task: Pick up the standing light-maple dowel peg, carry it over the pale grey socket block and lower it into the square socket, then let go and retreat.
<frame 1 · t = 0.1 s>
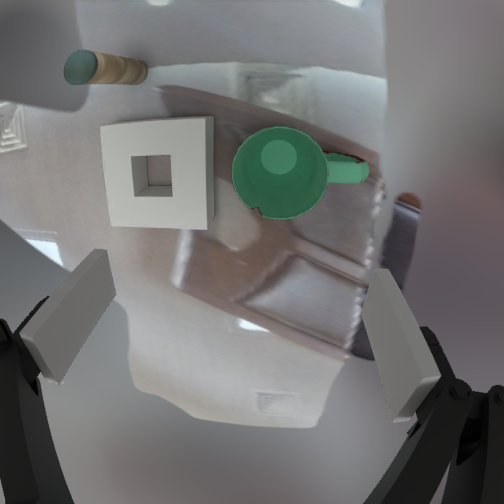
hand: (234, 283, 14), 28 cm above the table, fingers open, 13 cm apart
peg: (135, 72, 33), on the table
mug: (297, 156, 38), on the table
socket block: (164, 167, 40), on the table
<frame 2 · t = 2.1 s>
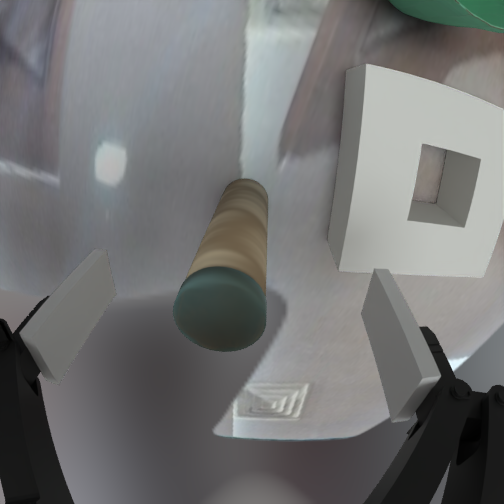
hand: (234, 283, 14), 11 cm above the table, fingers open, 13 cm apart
peg: (245, 200, 24), on the table
socket block: (417, 170, 22), on the table
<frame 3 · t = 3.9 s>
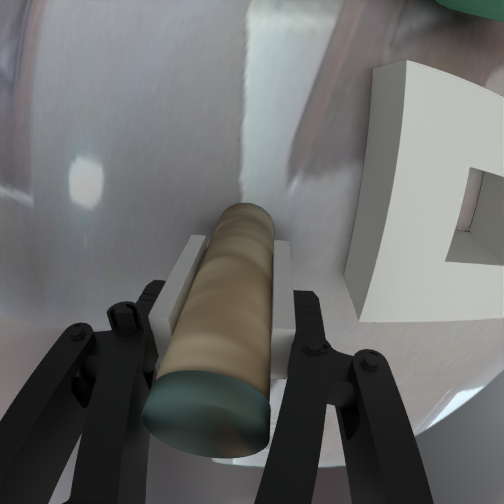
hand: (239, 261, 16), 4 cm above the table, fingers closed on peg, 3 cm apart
peg: (245, 229, 20), on the table, touching gripper
socket block: (451, 193, 17), on the table
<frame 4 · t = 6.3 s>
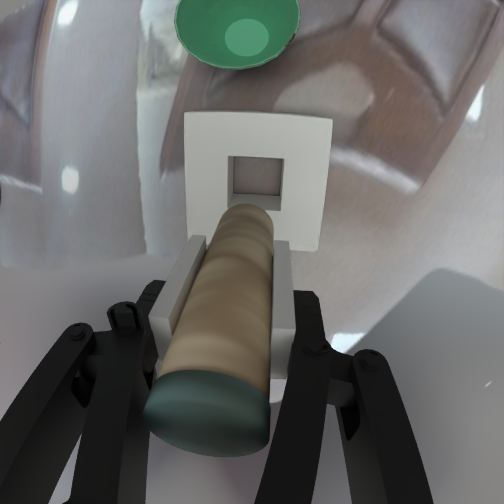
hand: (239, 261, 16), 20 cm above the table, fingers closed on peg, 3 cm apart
peg: (246, 229, 20), point 16 cm above the table, touching gripper
mug: (245, 19, 25), on the table
socket block: (257, 172, 34), on the table
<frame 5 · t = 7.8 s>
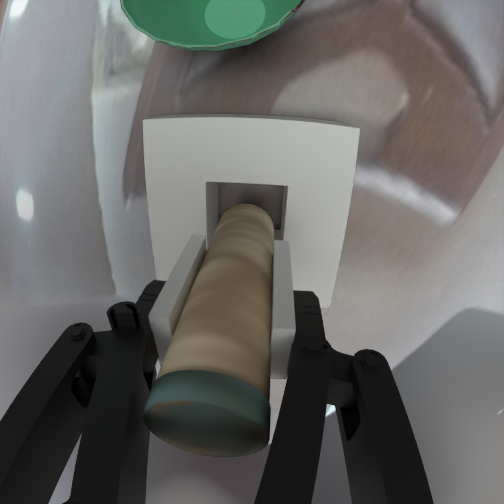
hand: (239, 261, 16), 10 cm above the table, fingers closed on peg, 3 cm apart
peg: (246, 229, 20), point 6 cm above the table, touching gripper
socket block: (250, 198, 25), on the table
when the fingers open (8 cm above the table, at t = 9.0 s): peg drops 3 cm, resting in socket block.
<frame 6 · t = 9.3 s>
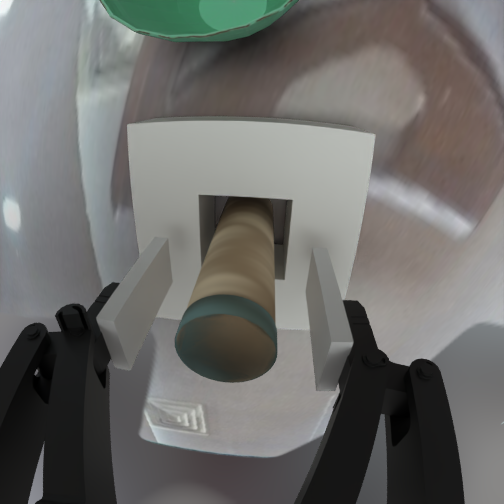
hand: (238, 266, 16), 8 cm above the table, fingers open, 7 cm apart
peg: (248, 211, 23), resting in socket block
socket block: (250, 210, 23), on the table
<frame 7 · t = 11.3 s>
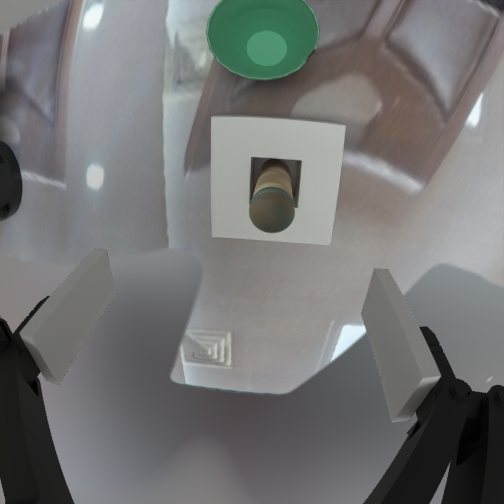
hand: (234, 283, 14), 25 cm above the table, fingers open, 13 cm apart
peg: (274, 172, 37), resting in socket block
mug: (265, 31, 28), on the table
socket block: (275, 172, 36), on the table
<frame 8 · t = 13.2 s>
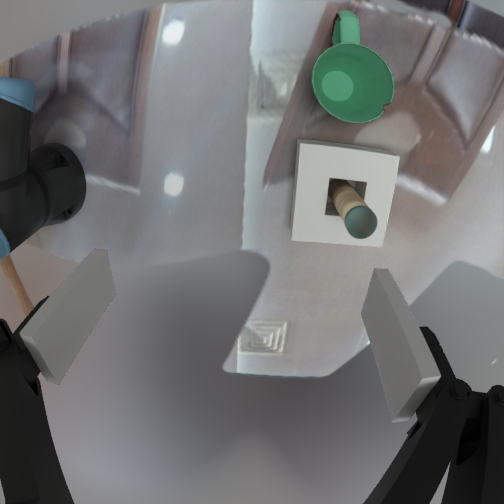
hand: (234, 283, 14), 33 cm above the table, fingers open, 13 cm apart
peg: (338, 188, 44), resting in socket block
mug: (336, 70, 36), on the table
socket block: (338, 188, 44), on the table
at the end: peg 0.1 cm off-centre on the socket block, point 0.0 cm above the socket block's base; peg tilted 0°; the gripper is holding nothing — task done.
